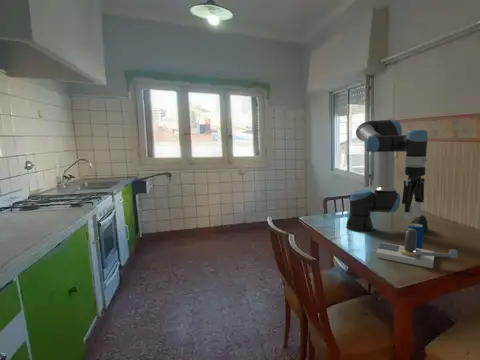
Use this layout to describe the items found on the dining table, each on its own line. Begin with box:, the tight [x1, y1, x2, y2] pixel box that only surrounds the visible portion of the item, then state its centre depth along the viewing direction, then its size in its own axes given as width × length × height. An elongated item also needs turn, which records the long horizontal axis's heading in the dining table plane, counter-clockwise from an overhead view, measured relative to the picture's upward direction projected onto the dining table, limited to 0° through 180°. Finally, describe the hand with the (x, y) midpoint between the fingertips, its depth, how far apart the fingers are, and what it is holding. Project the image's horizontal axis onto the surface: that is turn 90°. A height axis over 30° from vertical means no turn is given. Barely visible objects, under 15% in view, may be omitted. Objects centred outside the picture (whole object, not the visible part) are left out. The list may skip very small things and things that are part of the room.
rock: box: [411, 214, 430, 233], centre depth 170 cm, size 12×10×10 cm
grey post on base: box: [400, 227, 417, 257], centre depth 130 cm, size 8×8×14 cm
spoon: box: [413, 248, 458, 259], centre depth 123 cm, size 3×16×3 cm, turn 76°
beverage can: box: [407, 222, 424, 249], centre depth 143 cm, size 6×6×12 cm
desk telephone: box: [375, 242, 436, 269], centre depth 133 cm, size 22×15×4 cm
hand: (412, 217), depth 129 cm, fingers open, 7 cm apart
